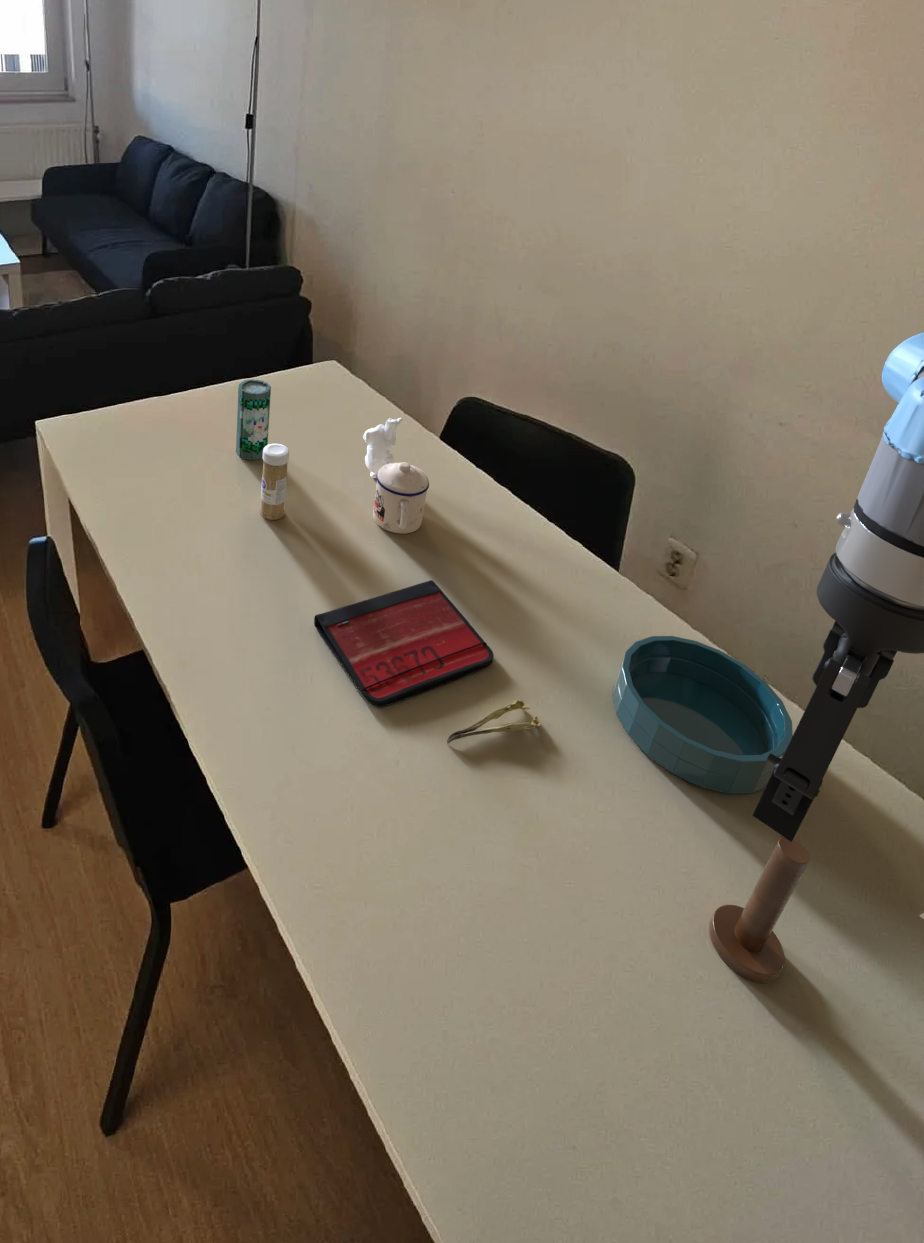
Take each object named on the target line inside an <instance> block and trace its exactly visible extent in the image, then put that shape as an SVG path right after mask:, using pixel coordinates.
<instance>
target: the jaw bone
mask: <svg viewBox="0 0 924 1243" xmlns="http://www.w3.org/2000/svg"><path fill="white" fill-rule="evenodd" d="M529 709H531V707H530V706H527V705H526V704H525V701H524V700H522V699H516V700H513V702H512V703H509V704H507V705H505V706H503V707H500V708H497V709H495V710H492V711H491V712H489V713H488V714H487V715H485V716H484V717H482V718H481V719H480V720H479V721H477V722H476V723H474V724H473V725H470V726H468V727H466V728H463V729H460V730H458V731H455V732H453V733H451V734H450V735H449V736H448V738H447V739H446V744H447V745H448V744H450V743H451V742H454V741H456V740H459V739H463V738H464V739H465V738H467V737H471V736H478V735H487V734H493V733H508V732H514V731H515V732H516V731H519V730H526V729H536V728H538V727H540V726H542V723H541V722H540V721H539V720H538V716H536V715H535V716H534V718H533V719H532V720H531V722H522V723H510V724H506V725H502V726H495V727H484V728H483V727H482V726H483V725H485V724H487V723H488V722H490V721H492V720H497V719H500V718H501V717H502V716H503V715H505V714H507V713H509V712H512V711H515V710H522V711H526V710H529ZM481 727H482V728H481Z"/></svg>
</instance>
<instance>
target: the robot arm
mask: <svg viewBox="0 0 924 1243" xmlns="http://www.w3.org/2000/svg"><path fill="white" fill-rule="evenodd" d="M881 382H882V385H883V388H884V390H885V392H886V394H887V395H889V397H890V398H892V399H893V400H894V401H895V402H896V403H898V404H897V406H896V407H895V409H894V411H893V413H892V415H891V417H890V418H889V419H888V420H887V422H886V424H885V425H884V427H883V432H882V437H881V439H880V442H879V443H878V446H877V449H876V451H875V454H874V456H873V459H872V460H871V462H870V466H869V468H868V471H867V472H866V475H865V478H864V480H863V482H862V485H861V486H860V490H859V492H858V495H857V497H856V500H855V502H854V505H853V508H852V510H851V511H850V514H849V513H847V512H843V511H841V512H839V513H838V514H837V515H836V517H835V521H836V523H837V524H839V525H840V526H842V527H844V529H843V530H842V532H841V534H840V536H839V538H838V541H837V543H836V545H835V552H833V554H831V555H830V557H829V559H828V561H827V564H826V566H825V568H824V571H823V572H822V575H821V577H820V580H819V581H818V584H817V586H816V597H817V601H818V602H819V604H820V606H821V607H822V609H823V610H824V612H825V613H826V614H827V615H828V616H829V617H830V618H831V619H833V620H834V623H833V625H832V627H831V628H830V630H829V631H828V634H827V635H826V638H825V639H824V642H823V645H822V649H823V654H822V656H821V658H820V660H819V661H818V664H817V666H816V667H815V670H814V672H813V674H812V678H811V680H812V682H813V684H814V686H815V688H814V691H813V693H812V695H811V697H810V699H809V701H808V703H807V706H806V708H805V709H804V711H803V713H802V716H801V718H800V720H799V721H798V723H797V726H796V728H795V730H794V731H793V736H792V738H791V740H790V742H789V745H788V747H787V749H786V751H785V753H784V755H782V754H781V756H780V758H778V757H777V756H775V755H773V754H772V753H770V754H769V756H768V758H767V760H768V761H769V762H771V763H773V764H774V765H775V767H774V769H773V770H774V771H773V773H772V775H771V777H770V779H769V781H768V783H767V786H766V787H764V790H763V792H762V794H761V796H760V798H759V801H758V802H757V805H756V806H755V809H754V811H753V813H752V815H751V816H752V817H754V818H755V819H756V820H758V821H759V822H761V823H762V824H764V825H765V826H767V827H768V828H770V829H771V830H772V831H774V832H776V833H777V834H779V835H780V836H781V837H785V838H786V839H787V840H789V841H790V842H792V840H793V839H795V836H796V834H797V833H798V830H799V829H800V826H801V825H802V823H803V821H804V819H805V817H806V815H807V813H808V811H809V809H810V807H811V805H812V803H813V802H814V800H815V798H817V797H818V795H819V793H820V791H821V790H820V788H821V787H822V785H823V783H824V777H825V775H826V773H827V771H828V769H829V767H830V765H831V763H832V761H833V758H834V756H835V755H836V753H837V751H838V748H839V746H840V744H841V742H842V740H843V738H844V736H845V734H846V732H847V730H848V728H849V726H850V724H851V723H852V720H853V718H854V716H855V714H856V712H857V710H858V709H865V708H866V707H867V706H868V705H869V703H870V701H871V699H872V697H873V695H874V693H875V691H876V689H877V687H878V684H879V683H880V681H882V680H885V679H886V678H887V676H888V674H889V672H890V670H891V668H892V666H893V664H894V662H895V659H894V658H895V657H896V655H897V653H898V652H900V653H904V654H917V655H919V654H924V332H920V333H918V334H915V335H913V336H910V337H909V338H906V339H905V340H903V341H902V342H900V343H899V344H898V345H897V346H896V347H895V348H894V349H893V350H891V352H890V353H889V355H888V356H887V358H886V361H885V362H884V364H883V368H882V370H881Z"/></svg>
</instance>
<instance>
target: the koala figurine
mask: <svg viewBox="0 0 924 1243" xmlns="http://www.w3.org/2000/svg"><path fill="white" fill-rule="evenodd" d="M403 421H404V419H403V418H402V417H399V418H397V419H396V418H394V417H393V418H392V417H388V418H387V420H386V421H385V425H384V424H381V423H380V424H378V425H377V426H376V427H371V428H369V429H367V430H365V432H364V433H363V435H362V439H363V440H364V442H365V443H366V444H367V446H366V455H365V456H364V463H365V466H366V468H367V469H368V470H369V471H370V474H369V476H370V478H372V479H377V478H376V476H377V473H378V471H379V469H380V468H381V467H383V466H384V465H387V464H390V463H394V459H395V458H394V454H393V453H390V450H392V449H393V448H394V447H395V445H396V440H397V427H399V425H400V424H401V423H402V422H403Z"/></svg>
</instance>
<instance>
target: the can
mask: <svg viewBox="0 0 924 1243" xmlns="http://www.w3.org/2000/svg"><path fill="white" fill-rule="evenodd" d="M271 393H272V386H271V385H270V384H269V383H268V382H267V381H264V380H261V379H254V378H253V379H246V380H243V381H241V382H240V383H239V384H238V389H237V411H236V413H237V414H236V438H235V439H236V440H235V441H236V442H235V453H236V454H237V455H238V457H239V458H241V459H244V460H247V461H258V460H263V449H264V447H265V446H267V445H269V430H270V429H269V428H270V410H271V409H270V408H271V395H272V394H271Z"/></svg>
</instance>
